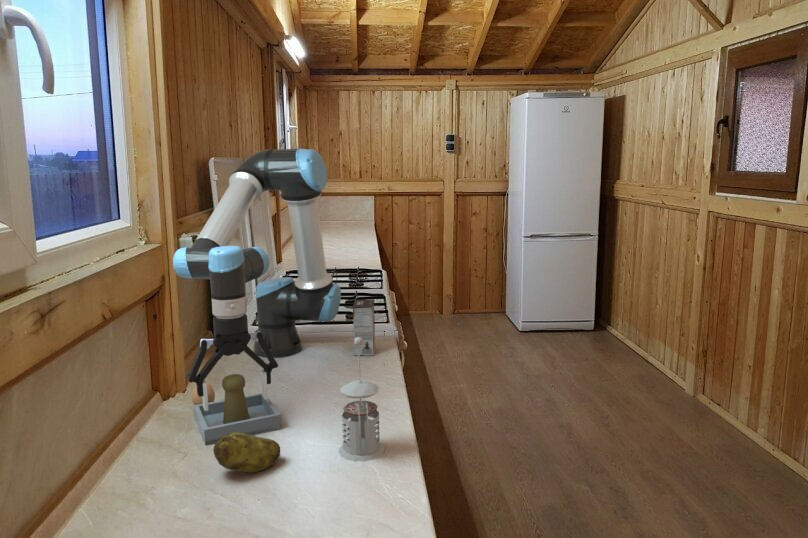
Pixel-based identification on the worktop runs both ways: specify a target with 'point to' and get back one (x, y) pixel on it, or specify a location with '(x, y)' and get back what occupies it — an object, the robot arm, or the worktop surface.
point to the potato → (246, 452)
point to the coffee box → (364, 326)
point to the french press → (360, 420)
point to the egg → (199, 400)
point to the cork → (234, 399)
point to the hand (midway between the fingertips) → (235, 403)
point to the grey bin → (260, 421)
